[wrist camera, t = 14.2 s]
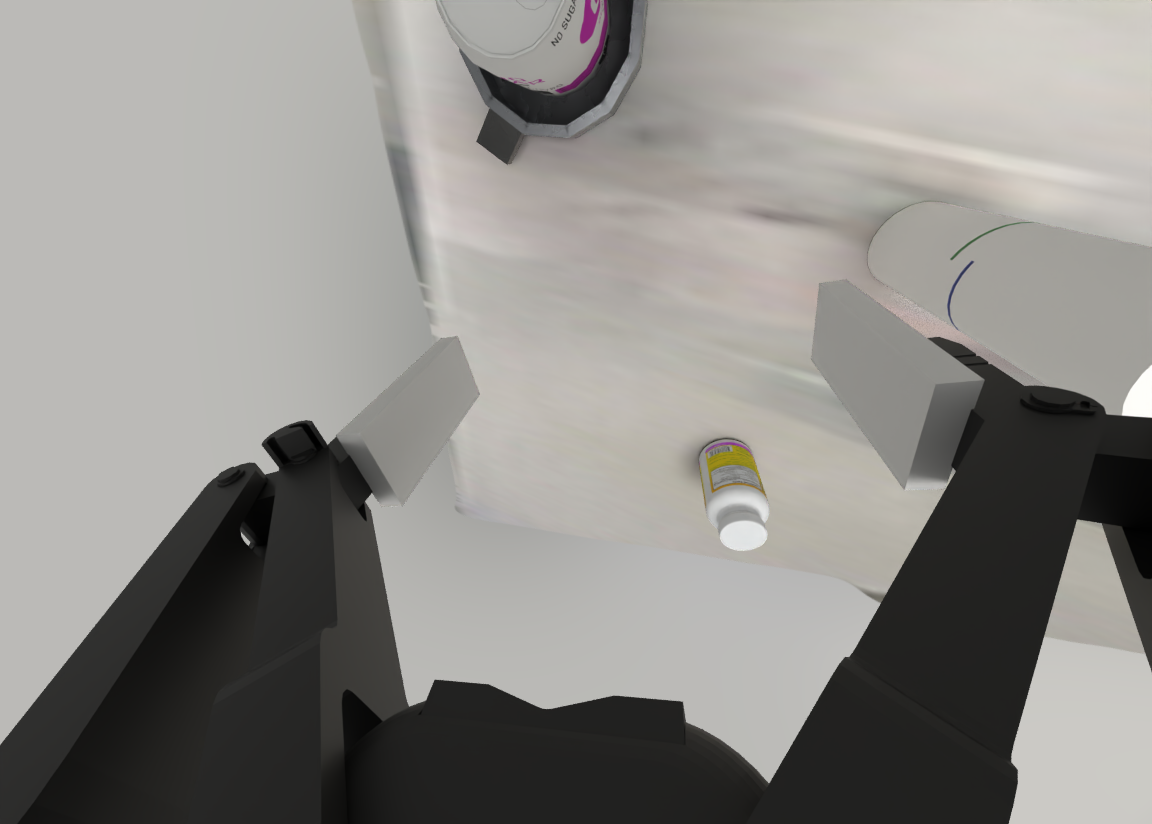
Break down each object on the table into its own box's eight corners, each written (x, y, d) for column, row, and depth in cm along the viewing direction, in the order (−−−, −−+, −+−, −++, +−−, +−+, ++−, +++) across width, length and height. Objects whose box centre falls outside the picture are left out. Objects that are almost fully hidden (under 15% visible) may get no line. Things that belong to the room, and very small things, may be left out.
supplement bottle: (734, 483, 54) (754, 565, 44) (689, 466, 54) (697, 545, 44) (763, 447, 51) (791, 528, 40) (714, 429, 50) (730, 505, 40)
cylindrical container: (851, 276, 38) (1075, 430, 18) (899, 192, 34) (1260, 269, 14) (925, 293, 38) (1238, 470, 18) (983, 211, 34) (1476, 318, 14)
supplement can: (608, -59, 28) (571, -209, 16) (614, 90, 33) (589, 61, 21) (498, -35, 30) (389, -155, 18) (518, 104, 34) (442, 85, 22)
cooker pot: (546, -214, 26) (530, -265, 23) (708, -54, 28) (716, -79, 25) (439, 102, 36) (418, 98, 33) (566, 198, 39) (558, 203, 35)
